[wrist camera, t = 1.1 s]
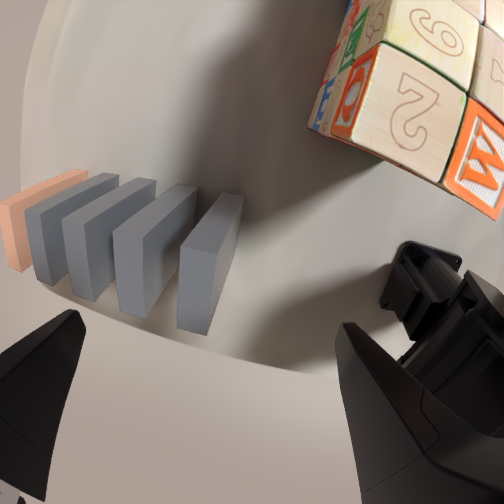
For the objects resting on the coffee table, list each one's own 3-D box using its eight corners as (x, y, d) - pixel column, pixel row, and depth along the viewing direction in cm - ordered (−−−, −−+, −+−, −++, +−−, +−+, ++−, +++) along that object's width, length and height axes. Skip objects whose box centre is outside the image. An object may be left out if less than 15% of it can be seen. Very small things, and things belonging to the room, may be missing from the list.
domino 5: (244, 196, 19) (217, 254, 11) (234, 254, 22) (206, 335, 14) (222, 191, 19) (180, 246, 11) (214, 250, 22) (176, 328, 14)
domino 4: (198, 187, 19) (142, 237, 11) (192, 245, 22) (145, 319, 14) (178, 183, 19) (112, 231, 11) (173, 241, 22) (119, 311, 14)
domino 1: (87, 170, 20) (8, 206, 12) (88, 222, 22) (21, 272, 14) (74, 169, 20) (-3, 203, 12) (76, 219, 22) (9, 267, 14)
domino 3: (156, 180, 19) (84, 224, 11) (153, 237, 22) (94, 302, 14) (138, 177, 19) (61, 219, 11) (136, 233, 22) (73, 294, 14)
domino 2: (119, 174, 19) (39, 214, 11) (118, 229, 22) (52, 286, 14) (103, 172, 19) (24, 210, 12) (103, 226, 22) (37, 279, 14)
